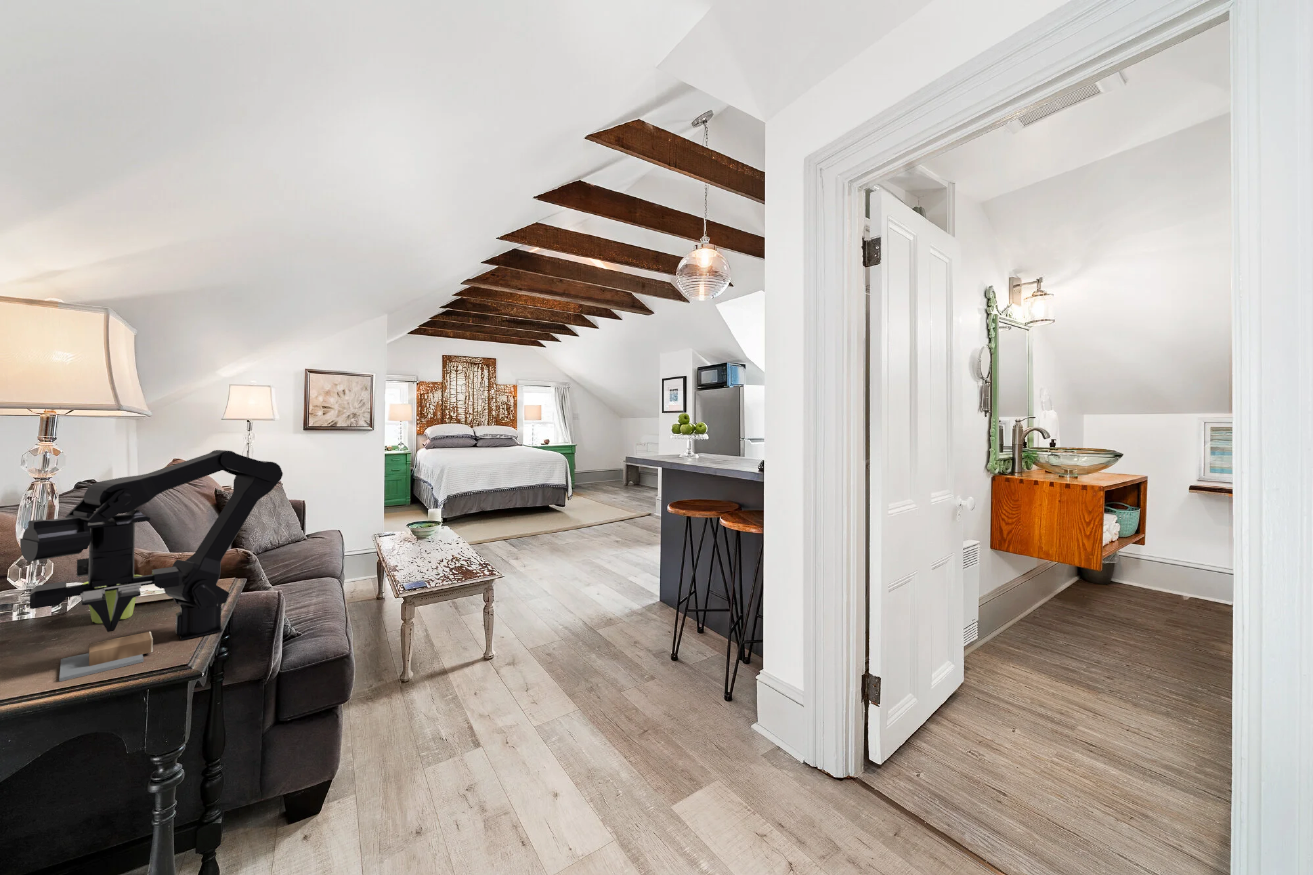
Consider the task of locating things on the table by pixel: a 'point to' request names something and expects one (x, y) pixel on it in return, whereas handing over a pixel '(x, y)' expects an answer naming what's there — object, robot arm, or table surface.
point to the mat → (80, 666)
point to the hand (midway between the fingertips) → (110, 631)
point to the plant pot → (112, 606)
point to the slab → (120, 648)
